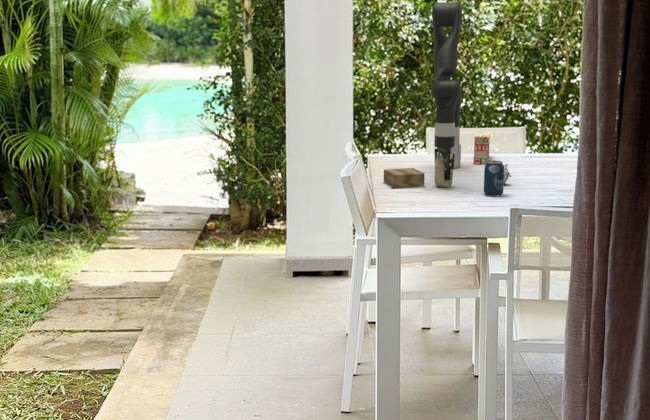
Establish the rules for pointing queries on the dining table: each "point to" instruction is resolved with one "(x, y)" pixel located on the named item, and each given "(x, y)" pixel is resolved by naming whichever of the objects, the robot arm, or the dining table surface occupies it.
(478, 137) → the cardboard product box
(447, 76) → the robot arm
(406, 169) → the walnut block
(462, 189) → the dining table surface
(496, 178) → the soda can
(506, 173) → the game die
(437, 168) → the carving
